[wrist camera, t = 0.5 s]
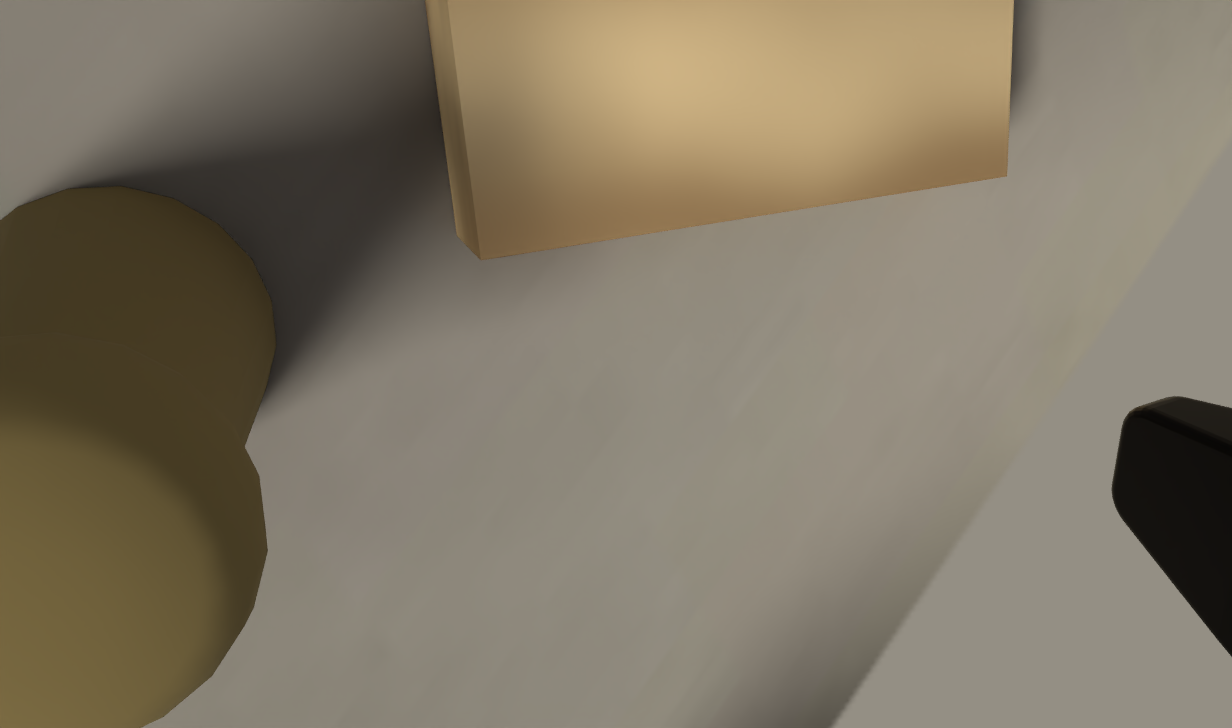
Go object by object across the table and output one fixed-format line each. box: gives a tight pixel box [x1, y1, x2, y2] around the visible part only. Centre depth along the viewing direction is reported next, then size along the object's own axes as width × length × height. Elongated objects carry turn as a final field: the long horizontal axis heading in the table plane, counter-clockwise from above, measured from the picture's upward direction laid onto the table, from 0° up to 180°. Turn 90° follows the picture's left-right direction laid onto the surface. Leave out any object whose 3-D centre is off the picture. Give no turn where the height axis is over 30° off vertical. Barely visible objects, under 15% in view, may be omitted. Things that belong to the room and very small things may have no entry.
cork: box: [0, 186, 276, 728], centre depth 17 cm, size 6×6×11 cm
